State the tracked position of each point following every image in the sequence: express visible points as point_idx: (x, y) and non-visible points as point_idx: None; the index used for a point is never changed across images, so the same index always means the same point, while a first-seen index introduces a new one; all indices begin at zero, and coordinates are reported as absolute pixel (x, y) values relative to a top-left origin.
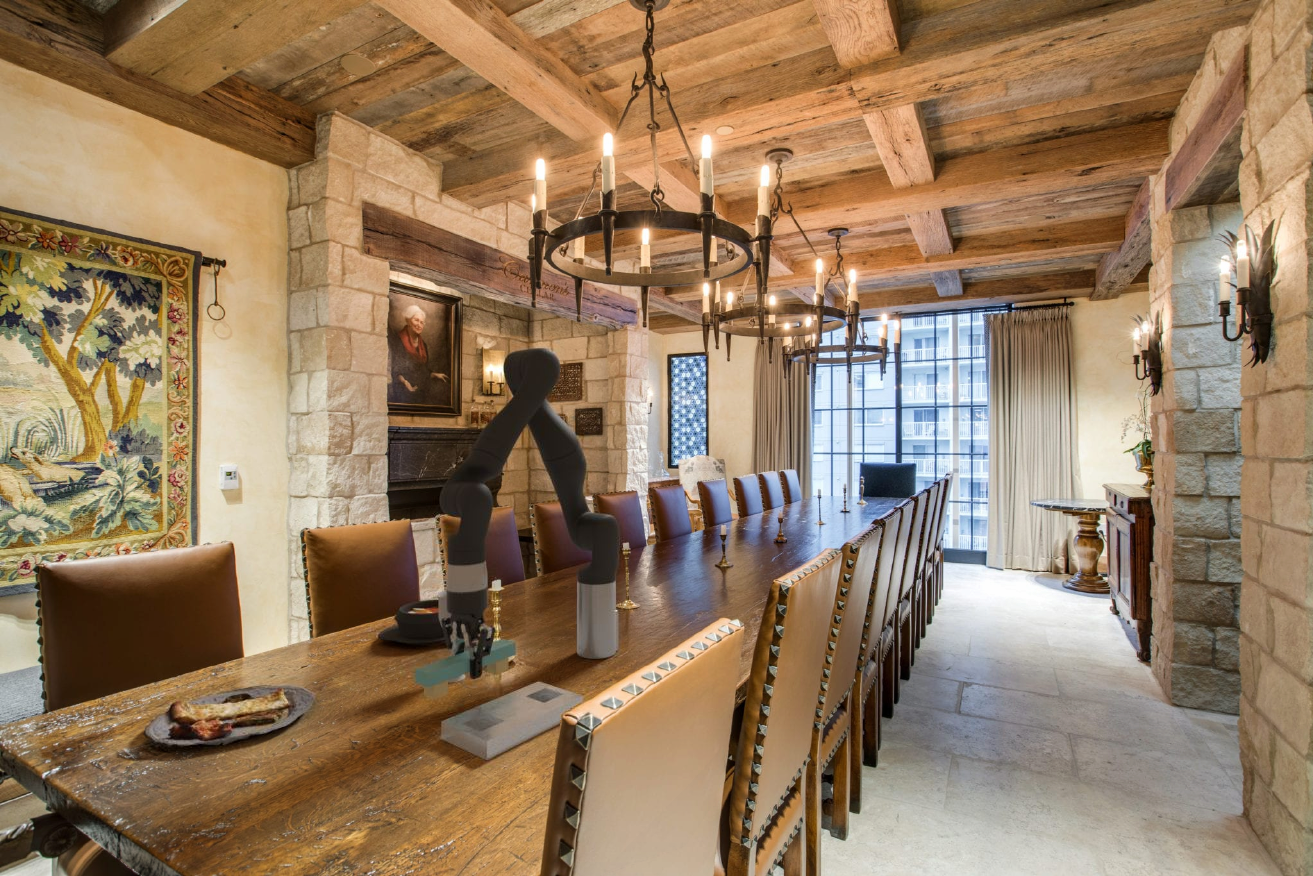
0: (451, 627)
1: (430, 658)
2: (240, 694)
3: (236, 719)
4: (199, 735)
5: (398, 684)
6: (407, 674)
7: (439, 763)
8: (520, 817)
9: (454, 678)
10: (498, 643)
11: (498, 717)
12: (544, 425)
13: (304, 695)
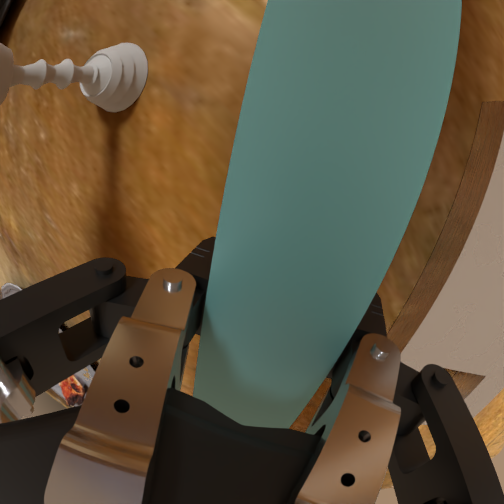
0: (33, 391)
1: (25, 46)
2: None
3: None
4: (81, 398)
5: (56, 182)
6: (36, 130)
7: None
8: (496, 438)
9: (130, 91)
10: (343, 34)
11: (471, 371)
12: None
13: None
